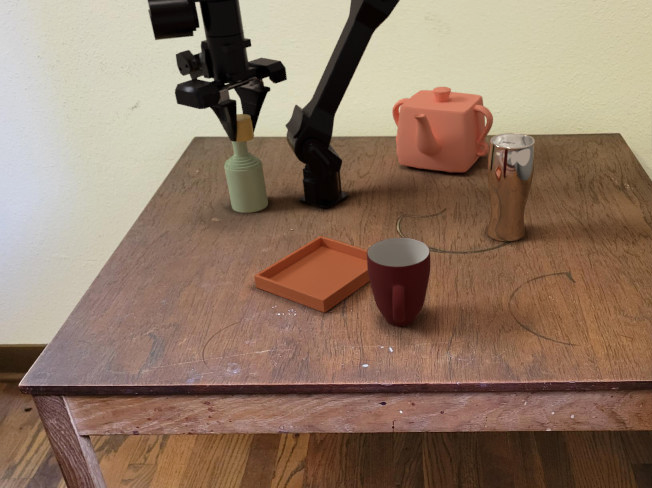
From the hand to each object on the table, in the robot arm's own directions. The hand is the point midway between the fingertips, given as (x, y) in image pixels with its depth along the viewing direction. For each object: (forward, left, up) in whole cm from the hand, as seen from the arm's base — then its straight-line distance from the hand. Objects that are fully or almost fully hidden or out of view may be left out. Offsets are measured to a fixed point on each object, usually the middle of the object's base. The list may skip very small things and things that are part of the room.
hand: (242, 137), depth 117 cm
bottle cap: (0, 0, 0) cm, 0 cm away
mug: (+16, +42, -13) cm, 47 cm away
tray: (+12, +25, -13) cm, 31 cm away
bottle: (-1, -2, -13) cm, 13 cm away
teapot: (-33, +16, -13) cm, 39 cm away
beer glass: (-15, +41, -13) cm, 46 cm away
